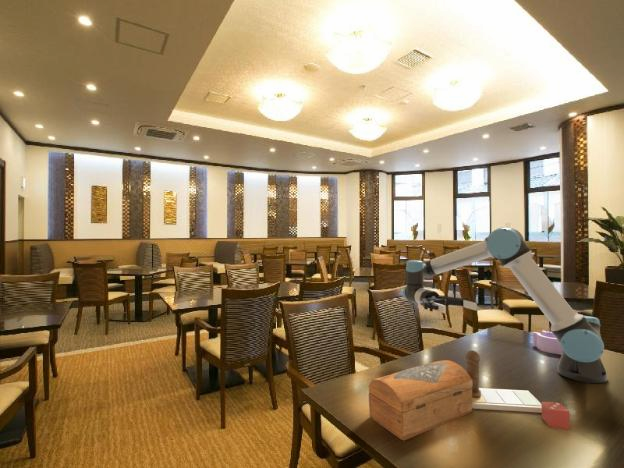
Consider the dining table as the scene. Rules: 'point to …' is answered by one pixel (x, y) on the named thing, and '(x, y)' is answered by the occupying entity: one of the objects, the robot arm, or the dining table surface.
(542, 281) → the robot arm
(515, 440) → the dining table surface
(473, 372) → the pawn
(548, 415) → the die
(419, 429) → the wooden box
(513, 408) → the board
